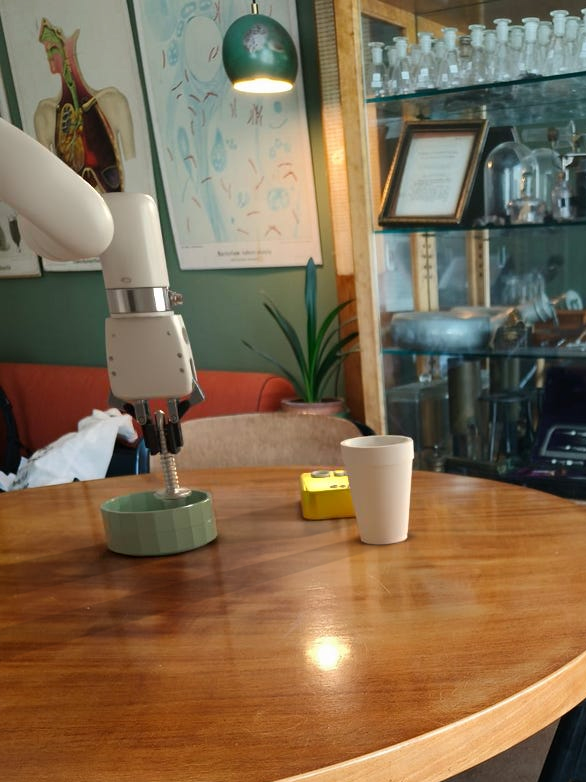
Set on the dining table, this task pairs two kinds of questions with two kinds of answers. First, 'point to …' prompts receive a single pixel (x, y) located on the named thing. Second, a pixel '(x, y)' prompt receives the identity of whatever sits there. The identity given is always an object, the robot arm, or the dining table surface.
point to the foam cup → (380, 485)
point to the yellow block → (325, 495)
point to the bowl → (158, 524)
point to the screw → (168, 469)
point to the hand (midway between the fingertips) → (165, 452)
